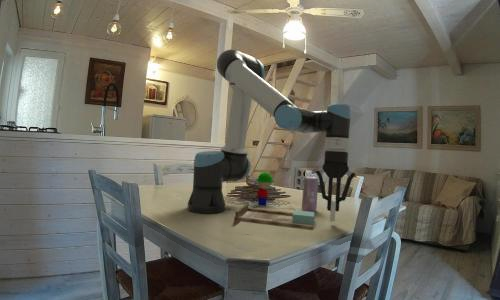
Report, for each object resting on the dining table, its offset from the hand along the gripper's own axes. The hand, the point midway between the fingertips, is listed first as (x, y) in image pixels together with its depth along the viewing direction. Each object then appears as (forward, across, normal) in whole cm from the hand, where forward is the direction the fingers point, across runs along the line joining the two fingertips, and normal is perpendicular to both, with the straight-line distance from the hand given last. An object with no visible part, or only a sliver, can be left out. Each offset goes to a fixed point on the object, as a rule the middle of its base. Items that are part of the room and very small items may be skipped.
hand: (332, 220), depth 99 cm
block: (+2, -10, 0) cm, 10 cm away
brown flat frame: (+3, -19, 0) cm, 19 cm away
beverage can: (+3, -9, +21) cm, 23 cm away
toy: (+3, -29, +26) cm, 39 cm away
